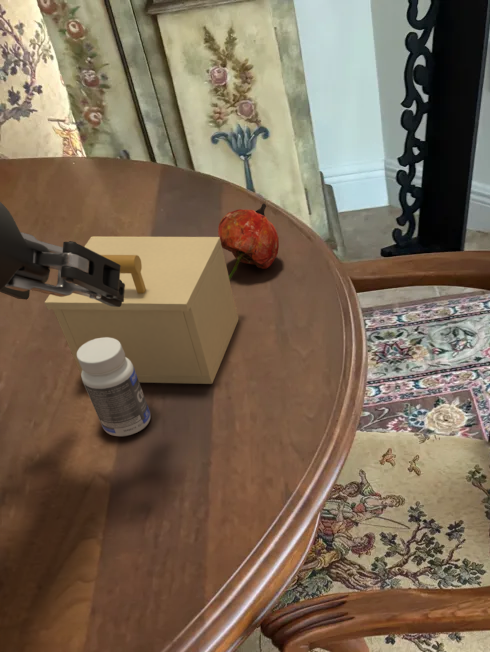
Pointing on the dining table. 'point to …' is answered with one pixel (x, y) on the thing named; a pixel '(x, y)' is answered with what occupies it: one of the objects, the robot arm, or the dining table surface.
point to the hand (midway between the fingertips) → (71, 290)
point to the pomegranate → (249, 237)
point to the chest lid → (150, 272)
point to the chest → (165, 332)
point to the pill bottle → (113, 387)
